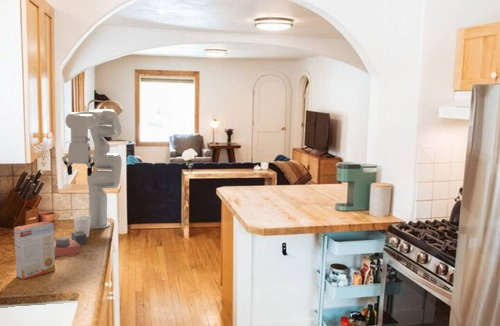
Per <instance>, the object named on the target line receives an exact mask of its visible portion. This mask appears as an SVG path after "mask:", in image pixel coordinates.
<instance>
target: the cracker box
mask: <svg viewBox="0 0 500 326" xmlns="http://www.w3.org/2000/svg"><path fill="white" fill-rule="evenodd" d="M13 232H14V234H13V235H14V252H15V272H16V274H15V275H16V277H17V278H19V279H21V280H27V279H30V278H34V277H37V276H38V277H39V276H41V275H44V274H48V273H51V272H56V259H55V258H56V257H55V252H54V243H55V233H54V223H53V222H51V221H48V220H46V221H45V220H44V221H40V222H35V223H31V224H24V225H19V226H18V225H17V226H15V227H13Z"/></svg>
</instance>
